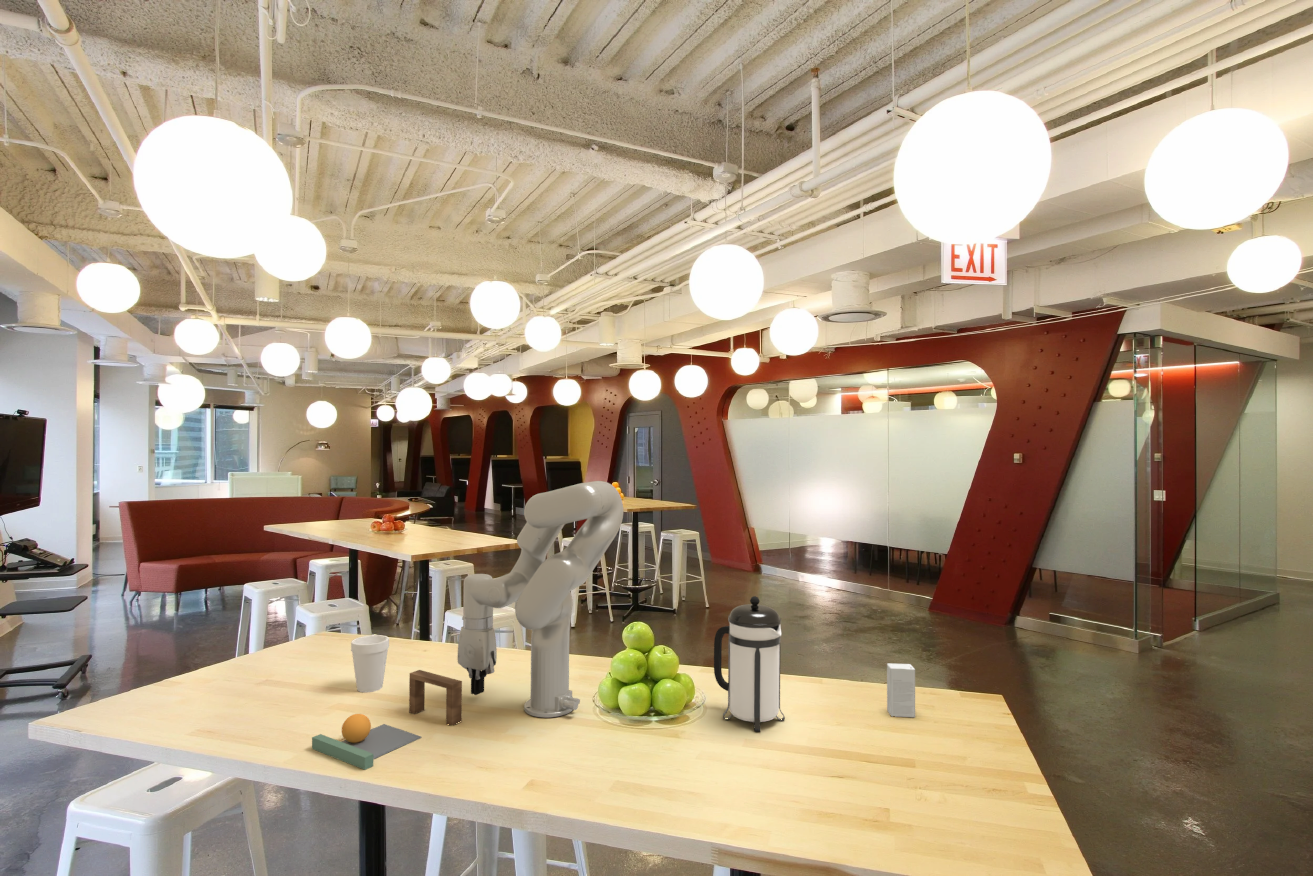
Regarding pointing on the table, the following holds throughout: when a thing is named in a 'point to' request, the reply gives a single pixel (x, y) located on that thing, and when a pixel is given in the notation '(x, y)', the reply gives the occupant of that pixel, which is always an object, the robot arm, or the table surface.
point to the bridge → (451, 685)
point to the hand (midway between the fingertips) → (477, 692)
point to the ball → (356, 728)
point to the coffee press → (751, 663)
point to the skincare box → (901, 690)
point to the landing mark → (384, 740)
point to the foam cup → (369, 661)
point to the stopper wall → (342, 751)
